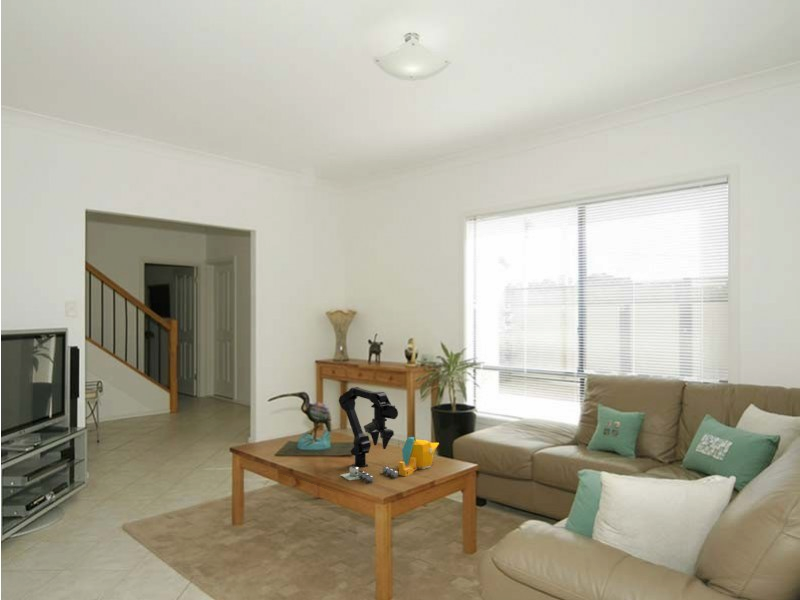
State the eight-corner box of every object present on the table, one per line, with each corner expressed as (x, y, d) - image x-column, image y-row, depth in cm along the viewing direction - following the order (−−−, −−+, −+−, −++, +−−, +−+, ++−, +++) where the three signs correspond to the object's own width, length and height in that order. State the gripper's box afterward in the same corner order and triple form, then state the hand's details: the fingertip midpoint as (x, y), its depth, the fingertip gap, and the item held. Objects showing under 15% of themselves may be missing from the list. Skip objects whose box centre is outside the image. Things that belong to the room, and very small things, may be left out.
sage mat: (340, 475, 279) (340, 474, 279) (358, 472, 285) (358, 471, 285) (349, 480, 271) (349, 479, 271) (367, 477, 276) (367, 476, 276)
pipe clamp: (405, 476, 278) (405, 463, 278) (398, 475, 281) (398, 462, 281) (419, 471, 288) (419, 458, 288) (412, 469, 290) (412, 457, 290)
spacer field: (357, 477, 276) (357, 471, 276) (386, 472, 285) (386, 466, 285) (368, 483, 266) (368, 477, 266) (398, 477, 276) (398, 471, 276)
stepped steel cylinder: (348, 475, 278) (348, 466, 278) (355, 473, 281) (355, 465, 281) (352, 477, 275) (352, 468, 275) (360, 475, 277) (360, 467, 277)
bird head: (448, 462, 303) (448, 433, 303) (414, 472, 285) (414, 440, 285) (430, 457, 313) (430, 429, 313) (396, 466, 295) (396, 436, 296)
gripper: (357, 415, 292) (357, 445, 292) (375, 421, 276) (375, 453, 276) (375, 413, 298) (375, 442, 298) (394, 419, 282) (394, 450, 282)
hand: (379, 447), depth 288 cm, fingers open, 9 cm apart
